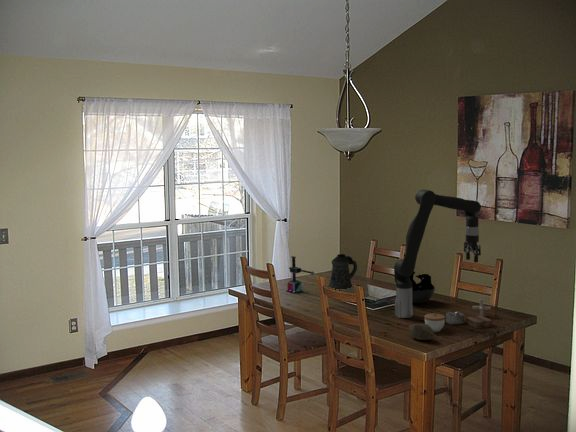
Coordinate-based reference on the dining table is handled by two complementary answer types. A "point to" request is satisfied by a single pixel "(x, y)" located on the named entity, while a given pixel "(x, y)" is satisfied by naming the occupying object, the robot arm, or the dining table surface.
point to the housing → (454, 317)
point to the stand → (478, 322)
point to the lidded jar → (435, 321)
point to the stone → (421, 331)
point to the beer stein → (342, 272)
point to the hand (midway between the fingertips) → (472, 260)
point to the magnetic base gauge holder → (295, 284)
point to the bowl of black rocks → (422, 288)
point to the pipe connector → (481, 307)
